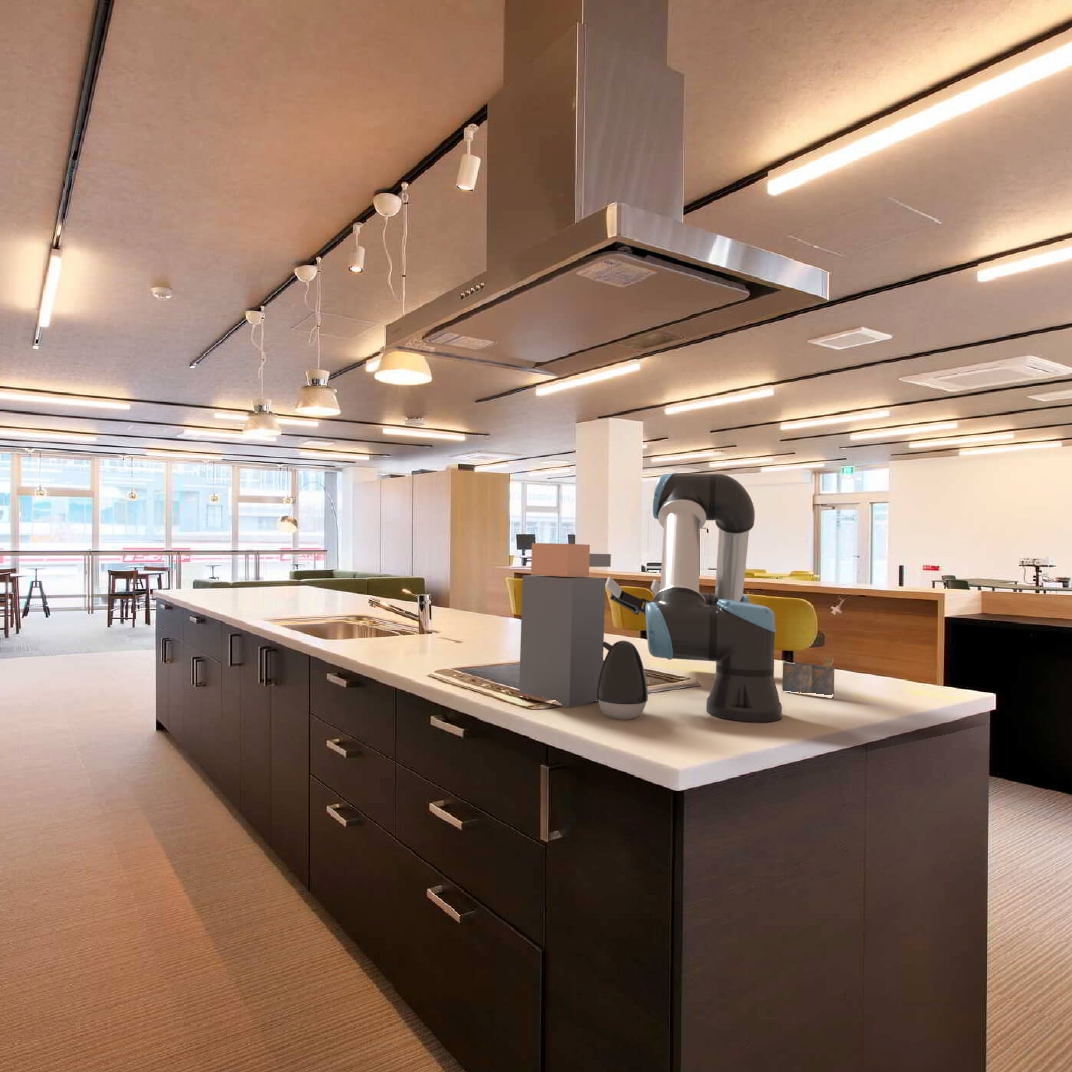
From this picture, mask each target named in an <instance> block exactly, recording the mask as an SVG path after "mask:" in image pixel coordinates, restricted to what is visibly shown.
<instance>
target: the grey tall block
mask: <svg viewBox="0 0 1072 1072" xmlns="http://www.w3.org/2000/svg"><path fill="white" fill-rule="evenodd" d="M605 584H606V577H597V576H596V577H594V576H586V577H561V576H545V575H522V585H521V611H520V612H521V619H520V644H519V645H520V649H519V654H520V655H519V683H518V684H519V685H518V689H519V690H518V695H519V694H529V695H533V696H537V697H544V698H547V699H550V700H556V701H558V702H559V703H561V704H562V706H561V707H563V706H565V707H564V708H568V709H570V708H575V707H578V706H583V705H587V704H591V703H594V701H595V702H597V701H596V700H598V699H597V687H598V681H599V676H600V672H601V669H602V666H603V663H604V647H603V646H602V644H603V642H605V641H604V639H605V610H606V609H605V608H606V607H605V605H606V586H605Z"/></svg>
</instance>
